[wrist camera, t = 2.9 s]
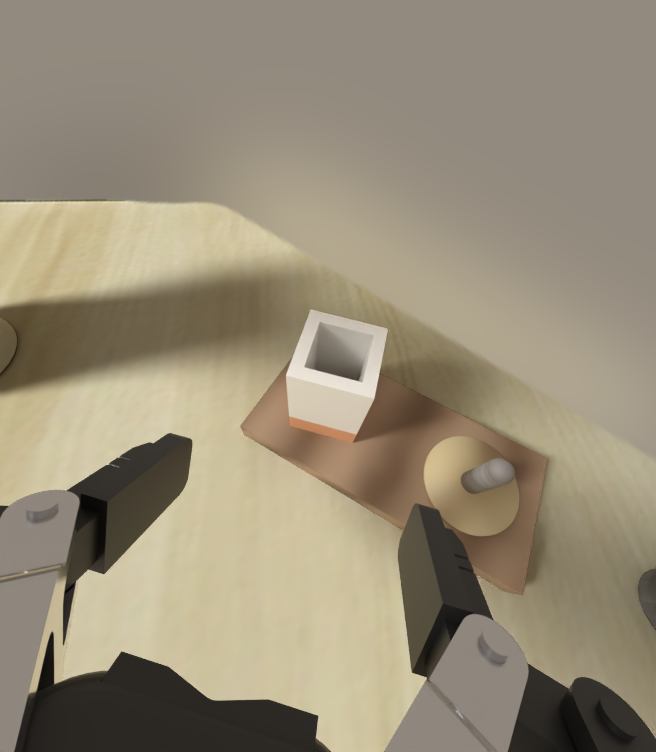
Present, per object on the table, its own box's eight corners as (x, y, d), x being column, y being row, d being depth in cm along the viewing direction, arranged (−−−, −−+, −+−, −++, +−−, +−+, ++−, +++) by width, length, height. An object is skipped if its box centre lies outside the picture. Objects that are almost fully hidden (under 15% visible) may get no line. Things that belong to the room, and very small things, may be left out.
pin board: (244, 434, 25) (227, 399, 19) (307, 349, 30) (309, 299, 24) (504, 591, 21) (582, 607, 15) (531, 465, 26) (599, 440, 20)
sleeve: (352, 443, 24) (374, 398, 17) (289, 426, 24) (285, 375, 17) (364, 387, 26) (388, 328, 19) (307, 372, 26) (310, 309, 19)
